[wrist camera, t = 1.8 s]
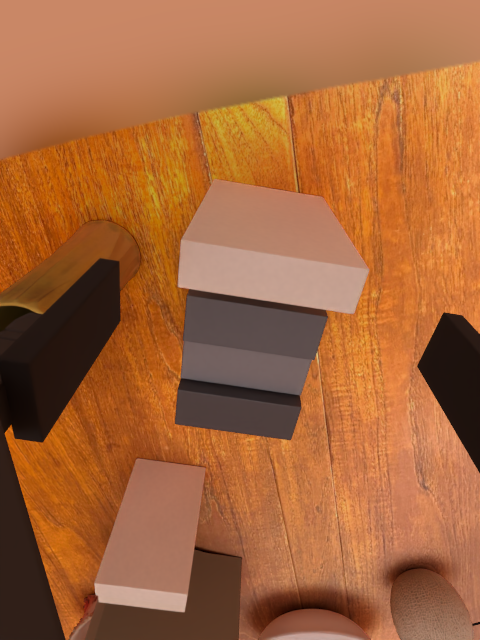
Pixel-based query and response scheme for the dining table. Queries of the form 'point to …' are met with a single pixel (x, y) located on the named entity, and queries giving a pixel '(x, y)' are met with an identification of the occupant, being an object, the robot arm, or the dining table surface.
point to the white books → (153, 538)
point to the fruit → (428, 608)
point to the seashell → (84, 619)
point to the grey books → (245, 363)
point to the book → (181, 627)
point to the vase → (69, 269)
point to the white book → (271, 249)
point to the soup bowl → (313, 627)
